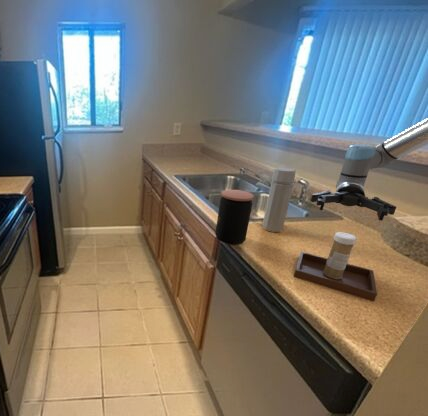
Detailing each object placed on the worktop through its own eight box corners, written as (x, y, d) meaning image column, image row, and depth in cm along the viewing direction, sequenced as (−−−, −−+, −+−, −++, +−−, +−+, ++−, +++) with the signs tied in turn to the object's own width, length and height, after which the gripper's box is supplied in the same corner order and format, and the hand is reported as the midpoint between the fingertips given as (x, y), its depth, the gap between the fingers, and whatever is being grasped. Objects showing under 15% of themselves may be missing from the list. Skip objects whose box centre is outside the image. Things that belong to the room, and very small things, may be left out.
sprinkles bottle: (324, 269, 84) (337, 230, 79) (343, 275, 81) (358, 235, 76) (321, 275, 81) (334, 235, 76) (340, 282, 78) (355, 240, 73)
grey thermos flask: (262, 223, 117) (274, 166, 108) (284, 228, 112) (298, 168, 103) (258, 231, 110) (271, 170, 101) (281, 236, 106) (297, 173, 97)
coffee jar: (224, 230, 112) (231, 187, 105) (250, 239, 104) (259, 194, 97) (209, 237, 106) (215, 193, 100) (235, 248, 98) (244, 200, 91)
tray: (370, 277, 81) (373, 270, 80) (374, 301, 71) (377, 294, 70) (299, 257, 91) (300, 251, 91) (293, 276, 82) (295, 269, 81)
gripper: (395, 211, 91) (406, 233, 75) (304, 197, 106) (297, 213, 91) (404, 189, 88) (416, 207, 73) (309, 178, 103) (303, 191, 88)
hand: (350, 210), depth 82 cm, fingers open, 13 cm apart
